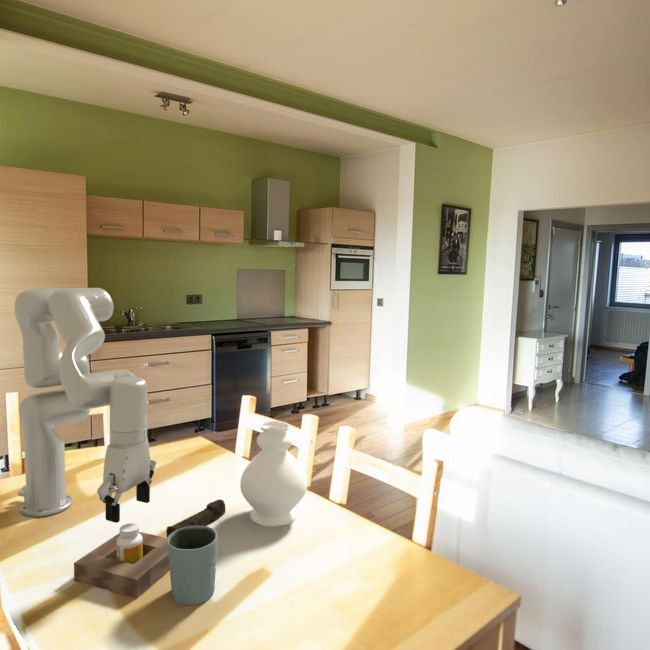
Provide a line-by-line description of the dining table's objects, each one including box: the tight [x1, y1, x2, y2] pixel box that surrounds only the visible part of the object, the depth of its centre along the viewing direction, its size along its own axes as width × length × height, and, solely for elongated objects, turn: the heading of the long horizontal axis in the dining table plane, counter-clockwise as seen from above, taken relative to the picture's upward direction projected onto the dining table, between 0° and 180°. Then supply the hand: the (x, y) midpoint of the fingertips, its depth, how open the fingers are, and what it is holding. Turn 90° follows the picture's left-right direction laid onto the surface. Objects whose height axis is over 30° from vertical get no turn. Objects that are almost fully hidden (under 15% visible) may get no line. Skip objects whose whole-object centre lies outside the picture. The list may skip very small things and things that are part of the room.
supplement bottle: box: [116, 522, 143, 564], centre depth 118 cm, size 5×5×10 cm
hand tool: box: [165, 499, 226, 538], centre depth 138 cm, size 19×4×5 cm, turn 145°
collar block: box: [73, 531, 170, 599], centre depth 118 cm, size 16×16×4 cm
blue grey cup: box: [166, 525, 219, 606], centre depth 110 cm, size 10×10×12 cm
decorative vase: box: [240, 420, 308, 528], centre depth 144 cm, size 18×18×25 cm
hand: (128, 510), depth 118 cm, fingers open, 9 cm apart
